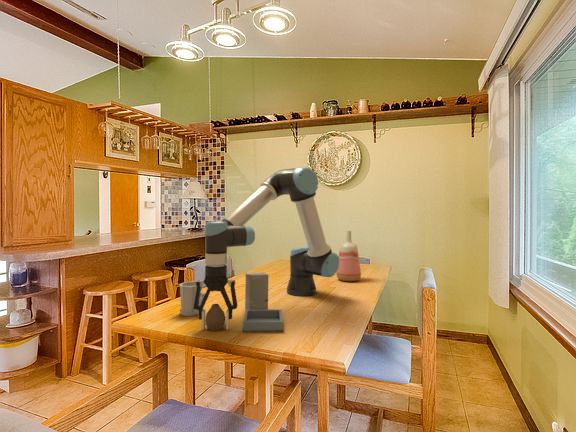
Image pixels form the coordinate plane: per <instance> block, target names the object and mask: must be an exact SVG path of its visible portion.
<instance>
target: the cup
mask: <svg viewBox="0 0 576 432" xmlns="http://www.w3.org/2000/svg"><path fill="white" fill-rule="evenodd" d="M196 282H197V281H185V282H181V283H179V295H180V309H179V315H181V316H183V317H184V316H185V317H194V316H199V311H198V310H197V309H194V302H195V296H196V290H197V286H196ZM202 287H203V286H202ZM202 287H201V293H200V299H199V305H201V303H202V300H203V298H204V296H205V294H206V292H205V291H202Z"/></svg>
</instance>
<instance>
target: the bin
mask: <svg viewBox="0 0 576 432" xmlns="http://www.w3.org/2000/svg"><path fill="white" fill-rule="evenodd" d="M244 311H245V312H244V316H243V321H242V333H278V332H279V333H283V332H284V319H283V312H282V311H283V310H282V309H279V308H278V309H268V310H244Z"/></svg>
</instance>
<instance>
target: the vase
mask: <svg viewBox="0 0 576 432" xmlns="http://www.w3.org/2000/svg"><path fill="white" fill-rule="evenodd" d="M225 325H226V313H225V311H224V310H223V309H222V307H221V305H220V304H219V303H212V304H211V307H210V308H209V310H208V311H207V312H206V314H205V326H206V327H207V328H208V330H209V331H213V332H217V331H220V330H222V329H223V327H224V326H225Z"/></svg>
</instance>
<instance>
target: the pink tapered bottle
mask: <svg viewBox="0 0 576 432" xmlns="http://www.w3.org/2000/svg"><path fill="white" fill-rule="evenodd" d="M345 240H346V241H345V242H344V243H341V244H340V246H339V250H338V251H339V253H338V257H339V267H338V270H337V272H336V273H335V275H336V277H337V279H338V280H340V281H342V282H347V281H348V282H350V283H351V282H352V281H353V282H356V281H359V280H360V279H361V277H362V272H361V264H360V257H359V255H360V254H359V250H358V246H357V244H356V243H354V242H352V230H347V231H346V239H345Z"/></svg>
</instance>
